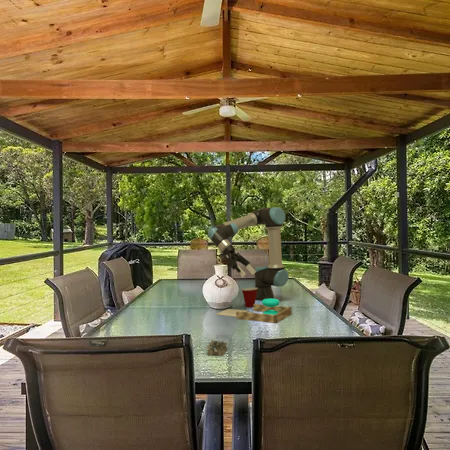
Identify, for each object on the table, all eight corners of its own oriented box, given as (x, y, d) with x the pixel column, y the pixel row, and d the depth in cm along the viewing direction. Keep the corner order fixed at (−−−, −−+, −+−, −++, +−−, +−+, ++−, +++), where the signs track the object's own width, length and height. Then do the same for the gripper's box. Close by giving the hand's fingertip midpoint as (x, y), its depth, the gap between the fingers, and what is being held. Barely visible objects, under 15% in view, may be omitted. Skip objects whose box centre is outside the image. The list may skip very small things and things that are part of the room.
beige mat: (215, 314, 231) (215, 314, 231) (228, 309, 245) (228, 308, 245) (236, 317, 224) (236, 316, 224) (248, 311, 238) (248, 310, 238)
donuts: (259, 298, 226) (276, 297, 228) (260, 315, 226) (276, 314, 228) (264, 301, 216) (281, 300, 218) (264, 319, 216) (282, 318, 218)
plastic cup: (247, 304, 260) (246, 286, 260) (261, 306, 254) (260, 287, 254) (238, 307, 251) (237, 288, 251) (252, 309, 245) (252, 289, 245)
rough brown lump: (223, 357, 156) (223, 346, 156) (205, 356, 158) (205, 345, 158) (228, 348, 167) (228, 339, 167) (211, 347, 168) (211, 338, 168)
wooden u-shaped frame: (236, 318, 219) (236, 311, 219) (254, 310, 240) (254, 304, 240) (276, 323, 208) (276, 315, 208) (291, 314, 229) (291, 307, 229)
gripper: (232, 251, 248) (254, 276, 240) (212, 254, 226) (235, 281, 219) (240, 243, 245) (262, 268, 238) (220, 245, 224) (243, 272, 216)
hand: (249, 274), depth 228 cm, fingers open, 13 cm apart
